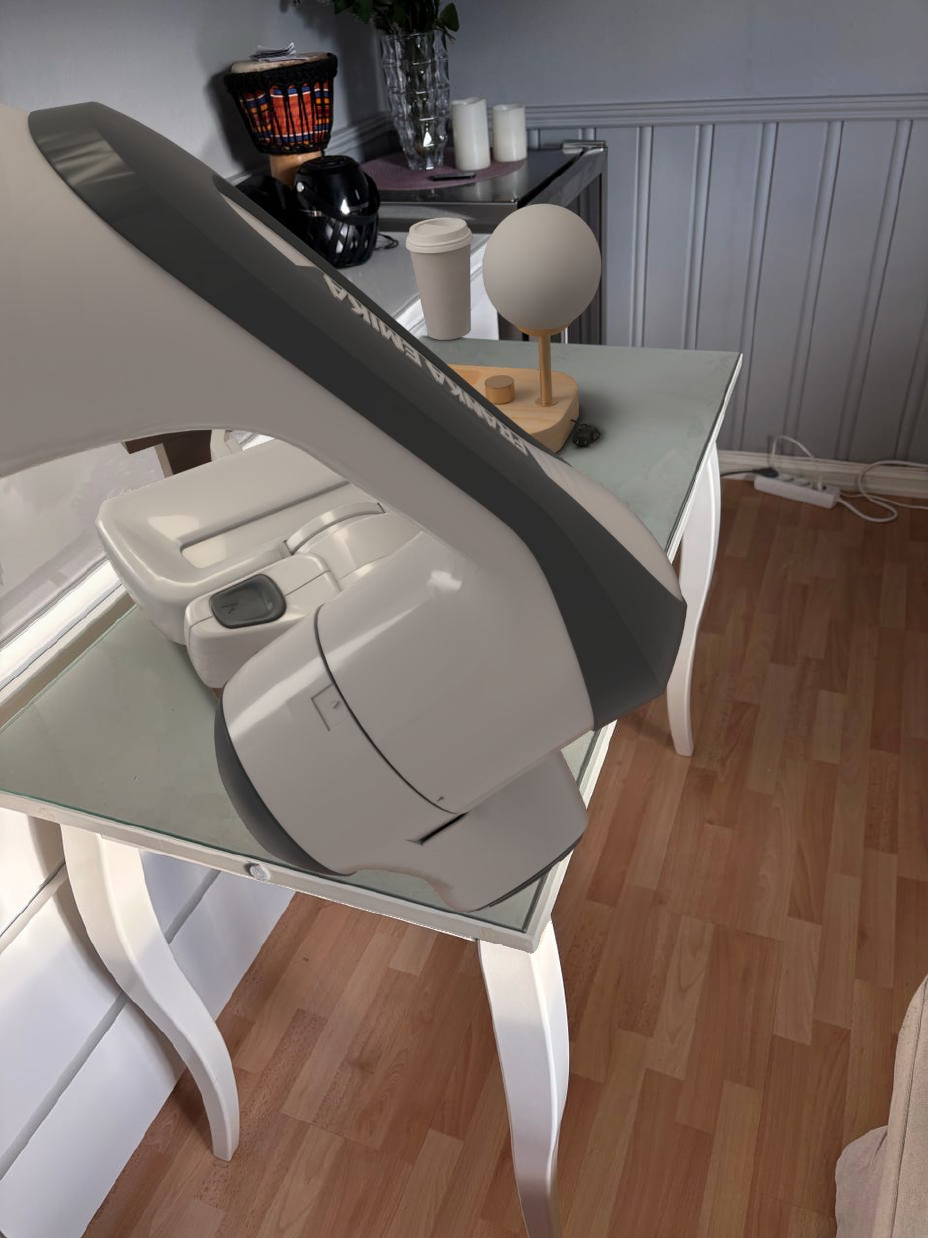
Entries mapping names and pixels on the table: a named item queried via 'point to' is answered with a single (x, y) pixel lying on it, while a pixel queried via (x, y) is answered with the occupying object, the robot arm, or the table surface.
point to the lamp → (538, 315)
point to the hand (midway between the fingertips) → (239, 388)
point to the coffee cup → (443, 275)
